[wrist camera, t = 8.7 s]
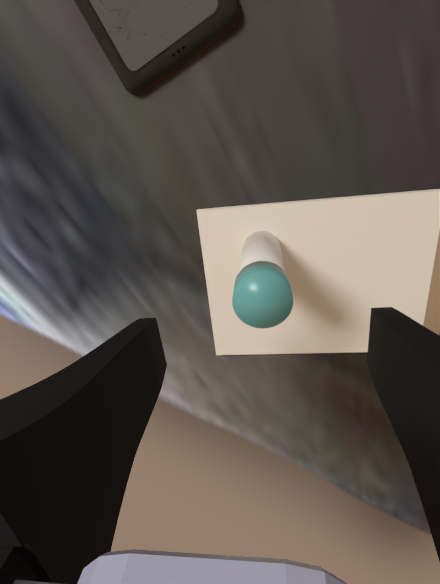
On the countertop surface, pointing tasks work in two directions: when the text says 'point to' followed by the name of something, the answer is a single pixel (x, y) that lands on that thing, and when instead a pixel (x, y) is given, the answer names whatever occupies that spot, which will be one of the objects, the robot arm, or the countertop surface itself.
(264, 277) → the marker
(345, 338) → the notepad
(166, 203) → the countertop surface
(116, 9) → the phone
